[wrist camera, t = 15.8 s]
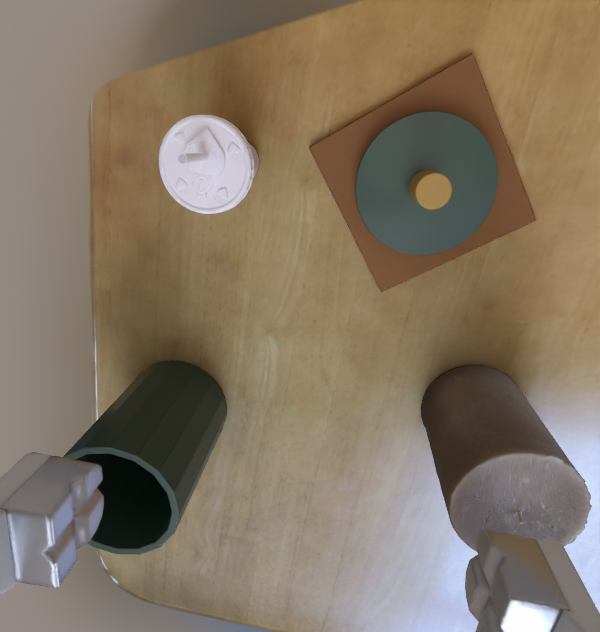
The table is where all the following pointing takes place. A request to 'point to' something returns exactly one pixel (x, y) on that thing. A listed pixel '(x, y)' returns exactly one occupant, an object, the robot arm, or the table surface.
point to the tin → (152, 454)
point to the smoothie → (207, 164)
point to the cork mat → (353, 140)
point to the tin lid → (426, 183)
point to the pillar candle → (500, 460)
